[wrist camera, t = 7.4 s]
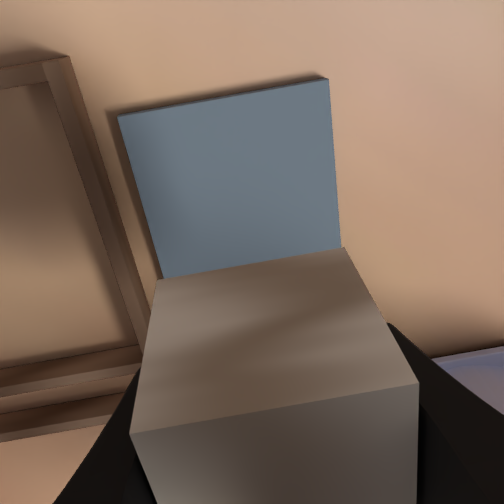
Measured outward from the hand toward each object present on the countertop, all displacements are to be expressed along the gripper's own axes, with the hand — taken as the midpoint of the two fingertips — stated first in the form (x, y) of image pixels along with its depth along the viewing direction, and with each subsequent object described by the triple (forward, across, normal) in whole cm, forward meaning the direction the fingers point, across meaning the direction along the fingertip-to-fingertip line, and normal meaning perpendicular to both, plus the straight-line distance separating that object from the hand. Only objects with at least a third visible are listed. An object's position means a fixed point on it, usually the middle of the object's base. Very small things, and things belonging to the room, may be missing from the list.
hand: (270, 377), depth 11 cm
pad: (+8, 0, 0) cm, 8 cm away
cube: (+1, 0, 0) cm, 1 cm away
